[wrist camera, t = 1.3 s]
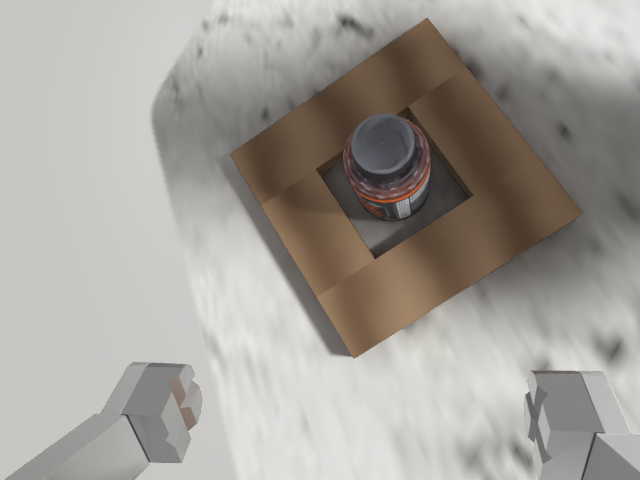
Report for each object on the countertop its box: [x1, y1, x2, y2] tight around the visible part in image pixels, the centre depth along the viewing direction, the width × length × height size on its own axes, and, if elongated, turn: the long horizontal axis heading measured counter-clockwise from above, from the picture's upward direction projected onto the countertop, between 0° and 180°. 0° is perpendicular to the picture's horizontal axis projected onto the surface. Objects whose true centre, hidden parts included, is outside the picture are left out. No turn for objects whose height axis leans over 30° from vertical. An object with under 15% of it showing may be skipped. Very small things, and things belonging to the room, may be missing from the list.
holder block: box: [230, 18, 583, 359], centre depth 42 cm, size 20×20×2 cm
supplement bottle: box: [343, 113, 431, 221], centre depth 37 cm, size 6×6×11 cm
